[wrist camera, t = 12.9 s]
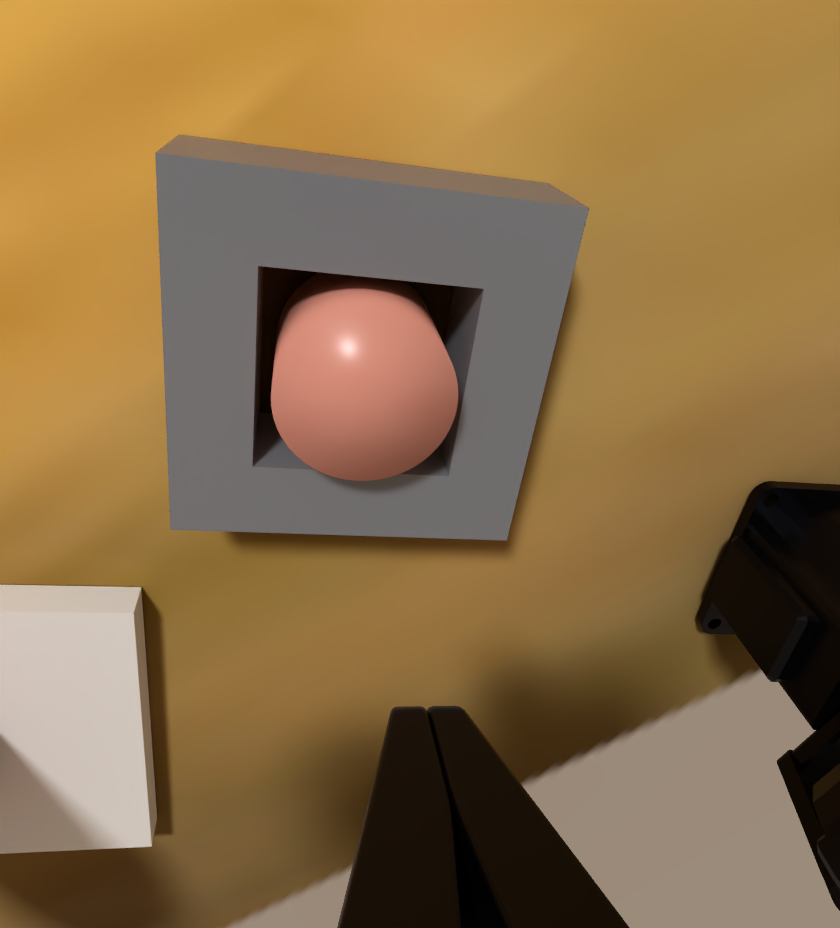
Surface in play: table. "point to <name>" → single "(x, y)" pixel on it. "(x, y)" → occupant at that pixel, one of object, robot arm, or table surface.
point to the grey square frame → (368, 255)
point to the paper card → (74, 720)
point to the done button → (361, 377)
